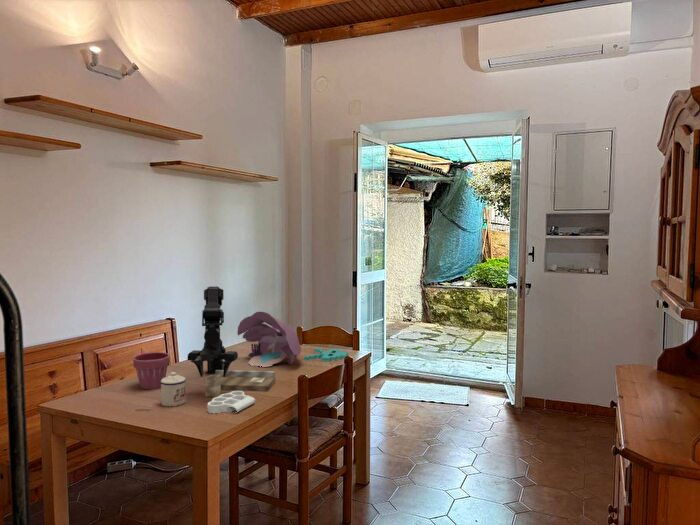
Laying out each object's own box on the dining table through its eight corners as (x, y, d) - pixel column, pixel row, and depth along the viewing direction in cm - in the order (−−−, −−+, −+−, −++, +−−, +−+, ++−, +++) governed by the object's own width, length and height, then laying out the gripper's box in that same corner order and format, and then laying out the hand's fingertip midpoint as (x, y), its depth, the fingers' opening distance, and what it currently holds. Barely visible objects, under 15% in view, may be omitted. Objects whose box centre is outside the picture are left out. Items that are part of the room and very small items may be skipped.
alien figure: (304, 361, 252) (342, 363, 248) (304, 356, 252) (342, 358, 248) (314, 351, 271) (350, 353, 267) (314, 347, 271) (350, 349, 267)
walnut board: (205, 389, 203) (205, 378, 203) (216, 380, 216) (216, 370, 216) (268, 391, 201) (268, 380, 201) (275, 381, 214) (275, 371, 214)
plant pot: (151, 393, 198) (150, 361, 197) (126, 388, 204) (125, 358, 203) (177, 383, 211) (177, 354, 210) (153, 379, 217) (152, 350, 216)
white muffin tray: (231, 418, 173) (198, 412, 178) (260, 402, 189) (228, 397, 195) (231, 409, 172) (197, 403, 178) (260, 393, 189) (228, 388, 195)
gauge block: (205, 396, 194) (205, 379, 194) (210, 391, 200) (210, 374, 200) (215, 396, 194) (215, 379, 194) (220, 391, 200) (220, 374, 200)
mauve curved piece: (231, 374, 243) (219, 320, 237) (253, 354, 265) (242, 304, 259) (296, 373, 232) (286, 317, 226) (313, 352, 254) (304, 300, 248)
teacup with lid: (176, 408, 181) (176, 376, 180) (155, 405, 184) (155, 374, 183) (195, 397, 193) (195, 368, 192) (175, 395, 195) (174, 366, 194)
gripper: (181, 342, 189) (182, 382, 190) (229, 343, 187) (229, 383, 188) (192, 336, 200) (193, 374, 201) (238, 337, 199) (238, 375, 199)
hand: (213, 377), depth 197 cm, fingers open, 9 cm apart
